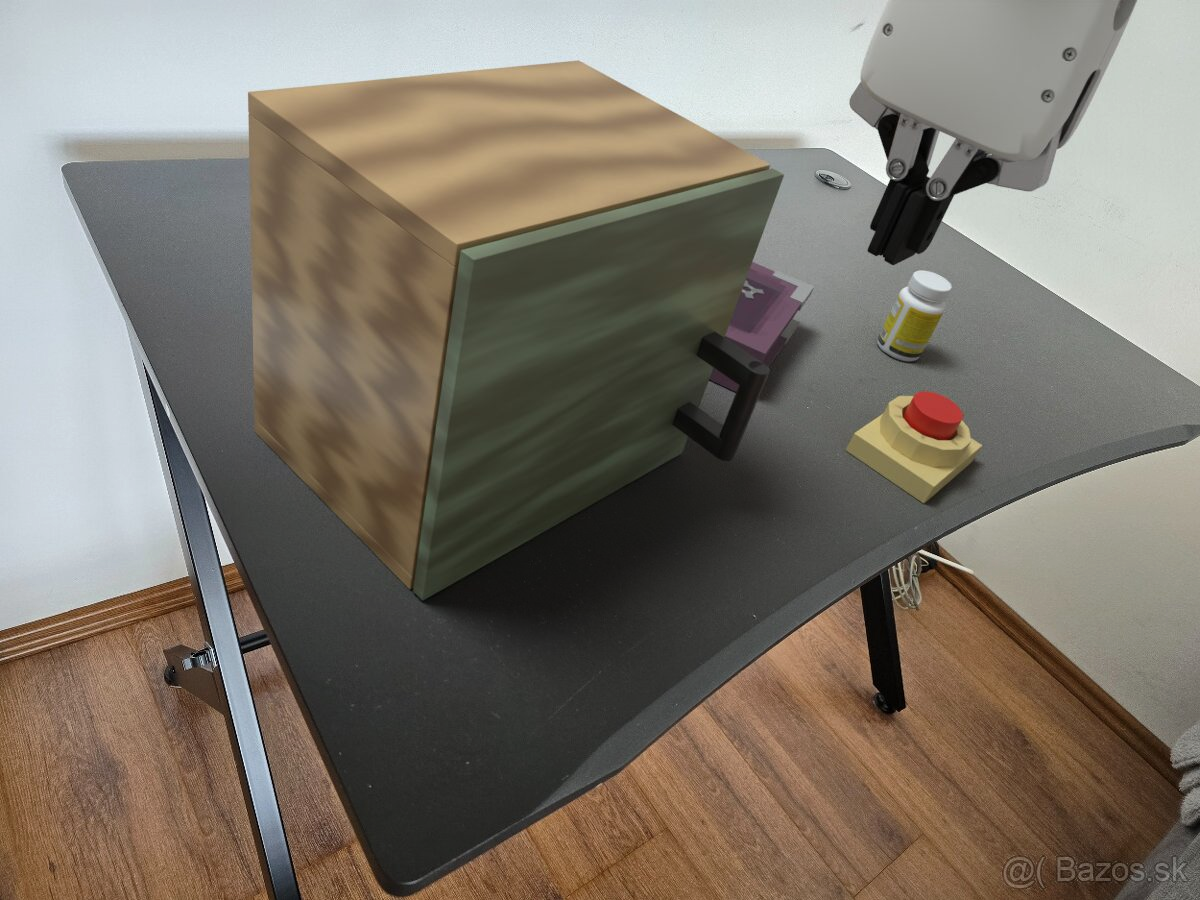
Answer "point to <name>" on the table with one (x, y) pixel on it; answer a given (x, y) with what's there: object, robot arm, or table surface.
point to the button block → (912, 452)
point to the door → (586, 366)
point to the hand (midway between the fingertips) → (891, 252)
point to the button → (933, 415)
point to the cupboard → (420, 250)
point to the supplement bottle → (914, 316)
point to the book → (764, 316)
